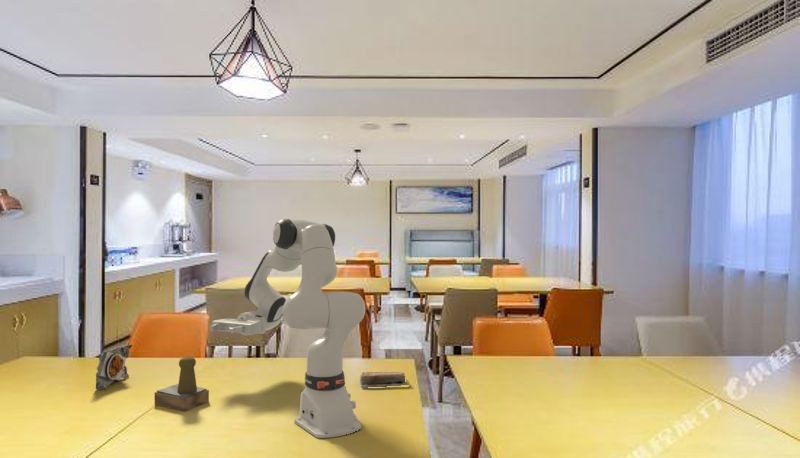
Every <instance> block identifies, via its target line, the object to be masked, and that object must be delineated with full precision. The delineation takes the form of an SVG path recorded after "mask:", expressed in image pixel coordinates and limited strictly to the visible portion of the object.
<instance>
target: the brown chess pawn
mask: <svg viewBox="0 0 800 458" xmlns="http://www.w3.org/2000/svg"><path fill="white" fill-rule="evenodd" d="M196 363H197V361H196V358H195V357H193V356H185V357H182V358H180V359H179V362H178V366H179V368H180V373H179V378H178V383H177V384H178V391H177V392H178V393H182V394H185V393H192V392H195V391H196V390H197V387H198V386H197V379H196V373H195V372H196V371H195V366H196Z"/></svg>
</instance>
